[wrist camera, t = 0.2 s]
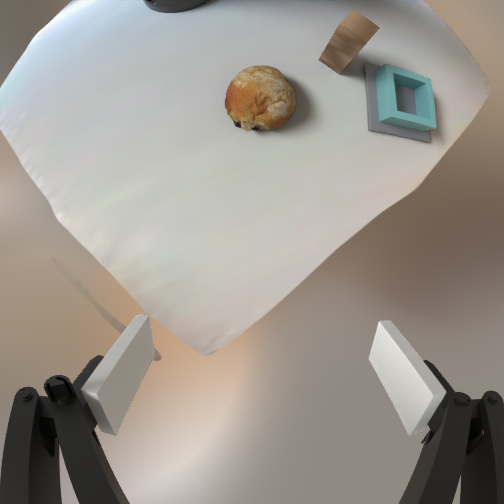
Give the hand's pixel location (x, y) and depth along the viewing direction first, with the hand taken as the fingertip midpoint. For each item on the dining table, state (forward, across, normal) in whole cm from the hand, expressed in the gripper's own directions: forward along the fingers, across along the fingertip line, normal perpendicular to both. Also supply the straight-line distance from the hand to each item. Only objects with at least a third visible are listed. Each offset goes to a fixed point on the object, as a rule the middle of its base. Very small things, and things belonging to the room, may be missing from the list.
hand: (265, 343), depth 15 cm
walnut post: (+29, +11, +30) cm, 43 cm away
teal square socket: (+28, +22, +24) cm, 43 cm away
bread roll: (+28, 0, +20) cm, 35 cm away
